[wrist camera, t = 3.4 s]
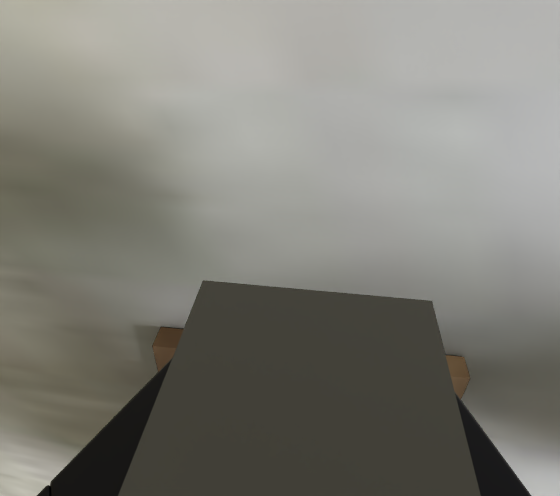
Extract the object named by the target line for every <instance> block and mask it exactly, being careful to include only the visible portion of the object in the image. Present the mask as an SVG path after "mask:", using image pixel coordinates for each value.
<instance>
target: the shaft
mask: <svg viewBox="0 0 560 496" xmlns="http://www.w3.org/2000/svg"><path fill="white" fill-rule="evenodd" d="M118 496H481V495H480V491H479V487H478V483H477V479H476V475H475V471H474V467H473V463H472V459H471V455H470V451H469V447H468V443H467V439H466V435H465V431H464V427H463V423H462V419H461V415H460V411H459V407H458V403H457V399H456V395H455V391H454V387H453V383H452V379H451V375H450V371H449V367H448V363H447V359H446V355H445V351H444V347H443V343H442V339H441V335H440V331H439V328H438V324H437V320H436V316H435V312H434V308H433V304H432V301H426V300H415V299H404V298H393V297H381V296H370V295H359V294H348V293H337V292H325V291H314V290H303V289H292V288H281V287H270V286H258V285H247V284H236V283H225V282H214V281H203V282H202V284H201V287H200V289H199V292H198V295H197V297H196V300H195V302H194V305H193V307H192V310H191V312H190V315H189V317H188V320H187V322H186V325H185V327H184V330H183V333H182V335H181V338H180V340H179V343H178V345H177V348H176V350H175V353H174V355H173V358H172V360H171V363H170V366H169V368H168V371H167V373H166V376H165V378H164V381H163V383H162V386H161V388H160V391H159V393H158V396H157V398H156V401H155V404H154V406H153V409H152V411H151V414H150V416H149V419H148V421H147V424H146V426H145V429H144V431H143V434H142V436H141V439H140V442H139V444H138V447H137V449H136V452H135V454H134V457H133V459H132V462H131V464H130V467H129V469H128V472H127V475H126V477H125V480H124V482H123V485H122V487H121V490H120V492H119V495H118Z"/></svg>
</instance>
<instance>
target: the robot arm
mask: <svg viewBox="0 0 560 496" xmlns="http://www.w3.org/2000/svg"><path fill="white" fill-rule="evenodd" d="M171 360H172V359H171ZM171 360H170V361H169V362H168V363H167V364H166V365H165V366H164V367H163V368H162V369H161V370H160V371H159V372H158V373H157V374H156V375H155V376H154V377H153V378H152V379H151V380H150V381H149V382H148V383H147V384H146V385H145V386H144V387H143V388H142V389H141V390H140V391H139V392H138V393H137V394H136V395H135V396H134V397H133V398H132V399H131V400H130V401H129V402H128V403H127V405H126V406H125V407H124V408H123V409H122V410H121V411H120V412H119V413H118V414H117V415H116V416H115V417H114V418H113V419H112V420H111V421H110V422H109V423H108V424H107V425H106V426H105V427H104V428H103V429H102V430H101V431H100V432H99V433H98V434H97V435H96V436H95V437H94V438H93V439H92V440H91V441H90V442H89V443H88V444H87V445H86V446H85V447H84V448H83V449H82V450H81V451H80V452H79V453H78V454H77V456H76V457H75V458H74V459H73V460H72V461H71V462H70V463H69V464H68V465H67V466H66V467H65V468H64V469H63V470H62V471H61V472H60V473H59V474H58V475H57V476H56V477H55V478H54V479H53V480H52V481H51V483H50V486H49V485H48V486H46V487H45V488H44V489H43V490H42V491H41V492H40V493H39V494H38V495H37V496H118V495H119V492H120V490H121V487H122V485H123V482H124V480H125V477H126V475H127V472H128V469H129V467H130V464H131V462H132V459H133V457H134V454H135V452H136V449H137V447H138V444H139V442H140V439H141V436H142V434H143V431H144V429H145V426H146V424H147V421H148V419H149V416H150V414H151V411H152V409H153V406H154V404H155V401H156V398H157V396H158V393H159V391H160V388H161V386H162V383H163V381H164V378H165V376H166V373H167V371H168V368H169V366H170V363H171ZM455 395H456V399H457V403H458V407H459V411H460V415H461V419H462V423H463V427H464V431H465V435H466V439H467V443H468V447H469V451H470V455H471V459H472V463H473V467H474V471H475V475H476V479H477V483H478V487H479V491H480V495H481V496H531V495H530V493H529V492H528V491H527V489H526V488H525V486H524V485H523V484H522V482H521V481H520V480H519V478H518V477H517V476H516V474H515V473H514V471H513V470H512V469H511V467H510V466H509V465H508V463H507V462H506V461H505V459H504V458H503V457H502V455H501V454H500V452H499V451H498V450H497V448H496V447H495V446H494V444H493V443H492V442H491V440H490V439H489V438H488V436H487V435H486V433H485V432H484V431H483V429H482V428H481V427H480V425H479V424H478V423H477V421H476V420H475V418H474V417H473V416H472V414H471V413H470V412H469V410H468V409H467V408H466V406H465V405H464V404H463V402H462V401H461V399H460V398H459V397H458V395H457V394H456V393H455Z"/></svg>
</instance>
